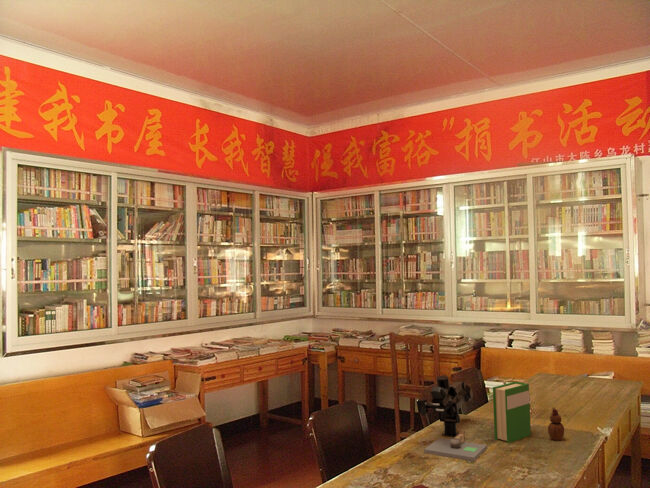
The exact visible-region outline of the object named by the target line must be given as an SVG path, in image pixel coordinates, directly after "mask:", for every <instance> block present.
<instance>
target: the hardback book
mask: <svg viewBox="0 0 650 488" xmlns="http://www.w3.org/2000/svg"><path fill="white" fill-rule="evenodd" d="M492 400H493V401H492V403H493V404H492V405H493V428H494V440H495V441H498V440H502V441H506V443H507V444H512V443H514V442H516V441H519V440H520V441H521V439H522V440H523V439H525V438H527V437H531V436H532V431H531V429H532V427H531V426H532V425H531V410H530V409H531V405H530V403H531V402H530V384H529V383H524V382H519V381H513V382H509V383H504V384H501V385H497V386H493V387H492Z"/></svg>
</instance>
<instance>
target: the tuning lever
mask: <svg viewBox="0 0 650 488" xmlns="http://www.w3.org/2000/svg"><path fill="white" fill-rule="evenodd" d="M458 432H459V434H458V435H457V436H455V437H451V438H450V439H449V440H450V446H451V447H454V448H459V447H461V443H462V442H466V438H465V437H466V436H465V431H464V430H459V431H458Z"/></svg>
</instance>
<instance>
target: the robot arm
mask: <svg viewBox="0 0 650 488" xmlns="http://www.w3.org/2000/svg"><path fill="white" fill-rule="evenodd" d="M449 378H450V377H449V376H448V375H446V374H443V375H438V376H436V377H435V379H436V386H432V388H431V390H430V395H431V397H432V398H431V399H430V400H431V402H428V400H427V399H425V398H419V399H417V401H416V405H417V412H418V413H419V414H421V416H425V415H427V414H428V413H429V409H433V412H434V413H438V416H439V417H438V418H439V422H440V423H441V422H442V423H443V427H444V428H443V430H444V432H442V433H441V435H442V436H444V437H446V436H447V437H451V438H455V437H456V436H457V435H459V431H457V424H461V415H460V408H461V407H462V406H463V404H464V403H467V402H470V401H472V399H473V396H474V392H473V390H472V387H471V386H469V385H468V384H467V383H466V381H463V380H455V381H454V382H453V383H452V384H450V379H449Z"/></svg>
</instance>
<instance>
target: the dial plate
mask: <svg viewBox="0 0 650 488" xmlns="http://www.w3.org/2000/svg"><path fill="white" fill-rule="evenodd" d="M487 449H488V445H487V444H482V443H476V442H467V441H464V442H462V443H461V447H459V448H454V447H451V446H450V439H449V438H442V437H438V438H437V439H436V440H434V441H433V442H432V443H430V444H429V445H427V446H426V447H425V448H424V449H423V453H424V454H428V453H429V455H434V454H435V456H440V455H441V457H447V458H453V459H459V460H464V461H470V460H471V462H475V461H476V460H477V459H478V458H480V456H481V455H482V454H484V452H485V451H486V450H487Z"/></svg>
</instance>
